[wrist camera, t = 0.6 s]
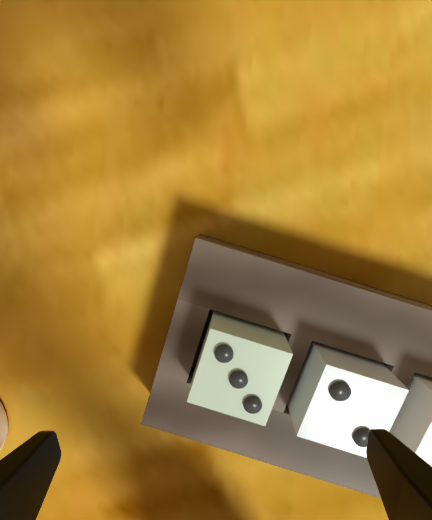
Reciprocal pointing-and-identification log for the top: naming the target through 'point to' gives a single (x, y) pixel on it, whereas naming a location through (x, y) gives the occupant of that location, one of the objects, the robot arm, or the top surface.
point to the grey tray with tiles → (299, 338)
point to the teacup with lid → (3, 426)
